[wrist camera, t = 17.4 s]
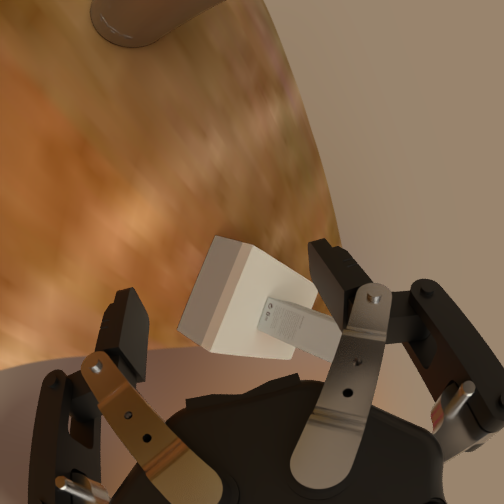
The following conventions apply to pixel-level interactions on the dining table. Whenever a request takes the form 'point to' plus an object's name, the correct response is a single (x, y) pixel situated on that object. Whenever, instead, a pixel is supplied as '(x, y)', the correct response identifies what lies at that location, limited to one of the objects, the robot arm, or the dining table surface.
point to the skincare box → (301, 328)
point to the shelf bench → (241, 300)
